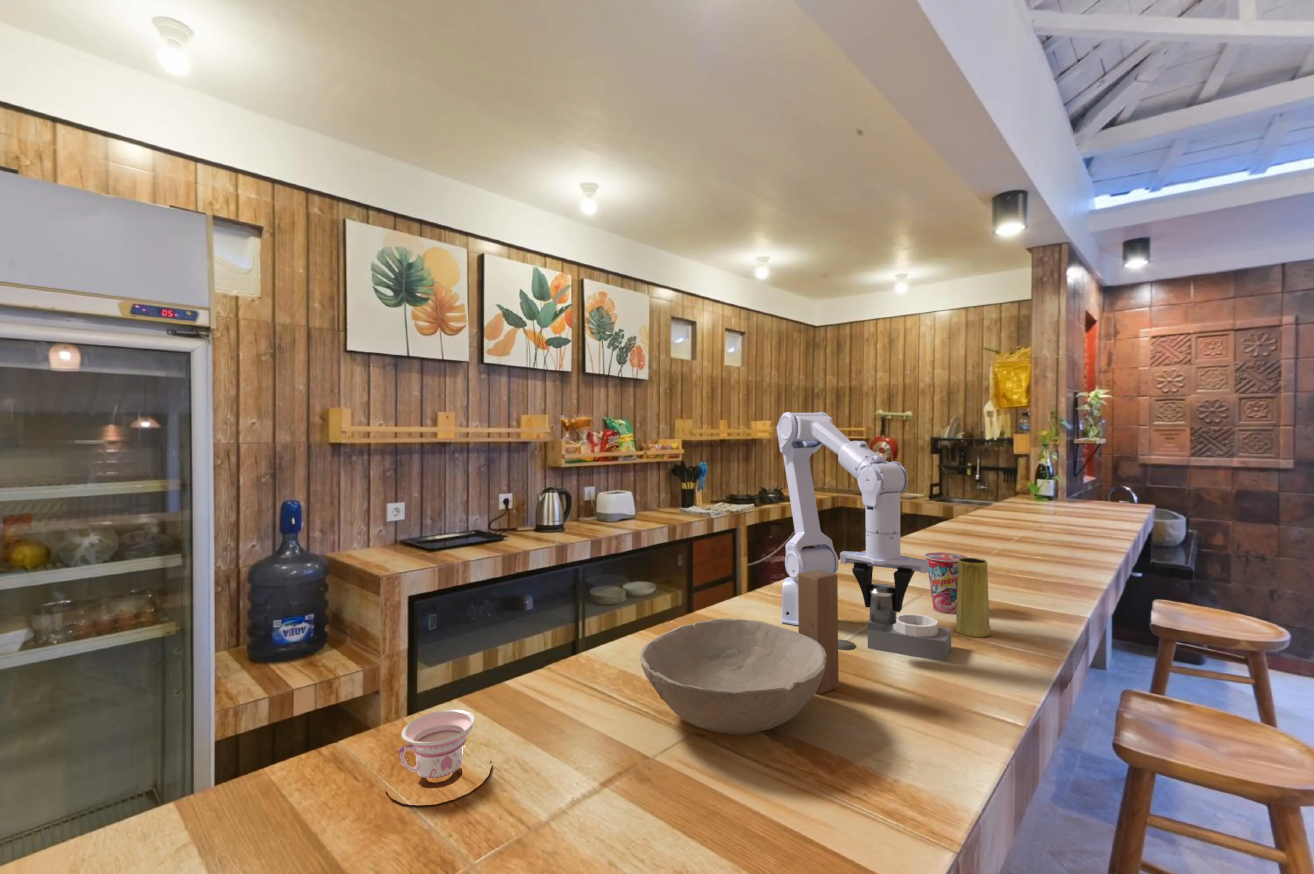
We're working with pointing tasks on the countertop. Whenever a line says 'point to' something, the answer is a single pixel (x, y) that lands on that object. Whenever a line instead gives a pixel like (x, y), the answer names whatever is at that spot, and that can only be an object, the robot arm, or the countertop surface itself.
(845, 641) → the lens cap
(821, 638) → the wooden block
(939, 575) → the cup
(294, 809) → the countertop surface
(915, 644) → the camera body
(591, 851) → the countertop surface
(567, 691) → the countertop surface
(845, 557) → the robot arm
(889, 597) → the lens
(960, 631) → the vase
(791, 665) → the bowl
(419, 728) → the teacup
